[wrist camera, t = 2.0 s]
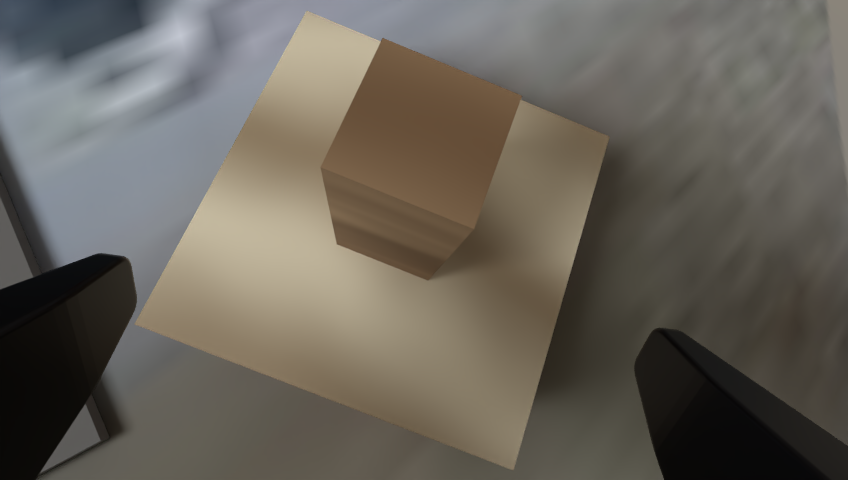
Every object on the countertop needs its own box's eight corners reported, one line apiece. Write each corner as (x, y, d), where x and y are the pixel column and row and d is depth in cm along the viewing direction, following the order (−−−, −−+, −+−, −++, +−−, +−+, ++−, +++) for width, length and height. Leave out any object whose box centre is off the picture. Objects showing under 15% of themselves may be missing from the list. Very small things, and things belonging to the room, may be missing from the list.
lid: (493, 456, 15) (631, 558, 7) (163, 328, 15) (-50, 298, 7) (583, 159, 18) (745, 17, 11) (312, 47, 18) (276, -185, 10)
